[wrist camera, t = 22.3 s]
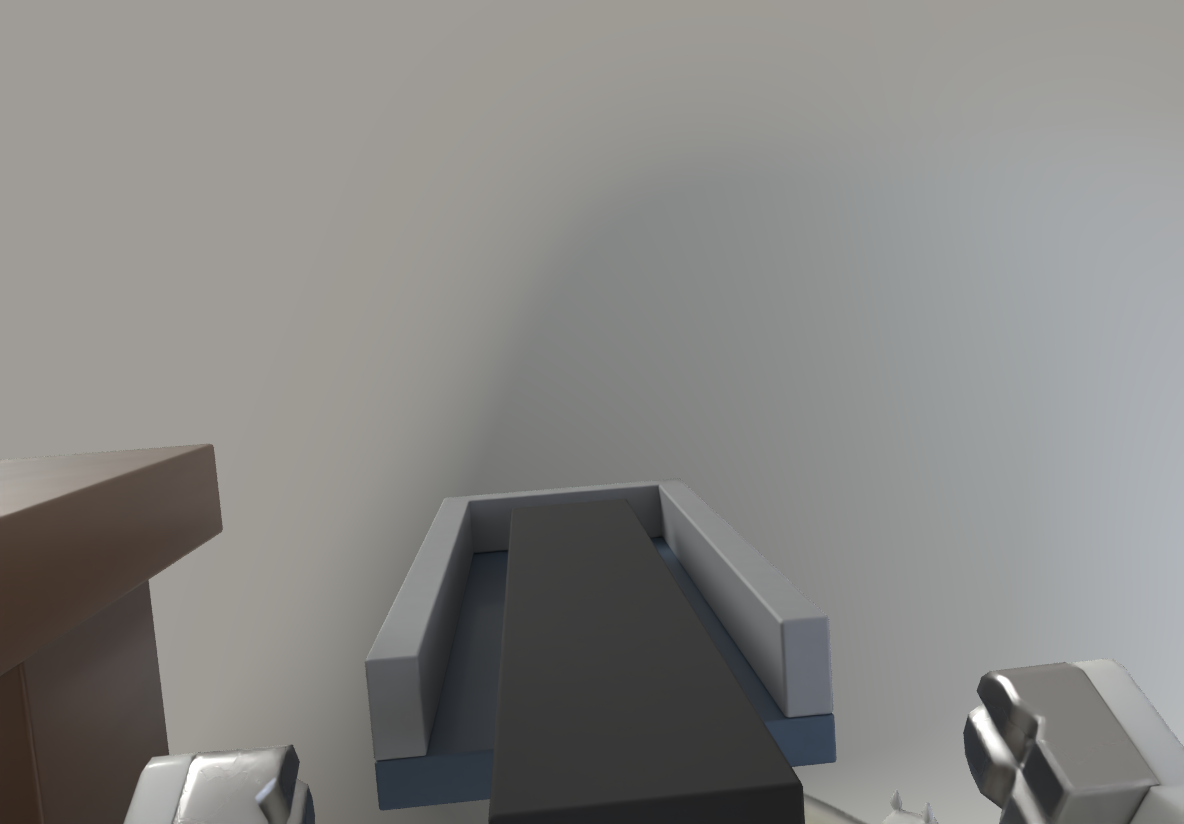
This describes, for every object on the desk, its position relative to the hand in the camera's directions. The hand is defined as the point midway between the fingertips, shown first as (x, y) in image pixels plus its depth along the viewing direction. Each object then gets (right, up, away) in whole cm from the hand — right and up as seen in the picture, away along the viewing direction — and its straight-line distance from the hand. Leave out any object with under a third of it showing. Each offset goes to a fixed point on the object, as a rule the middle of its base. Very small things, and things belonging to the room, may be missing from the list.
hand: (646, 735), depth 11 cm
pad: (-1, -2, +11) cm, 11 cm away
